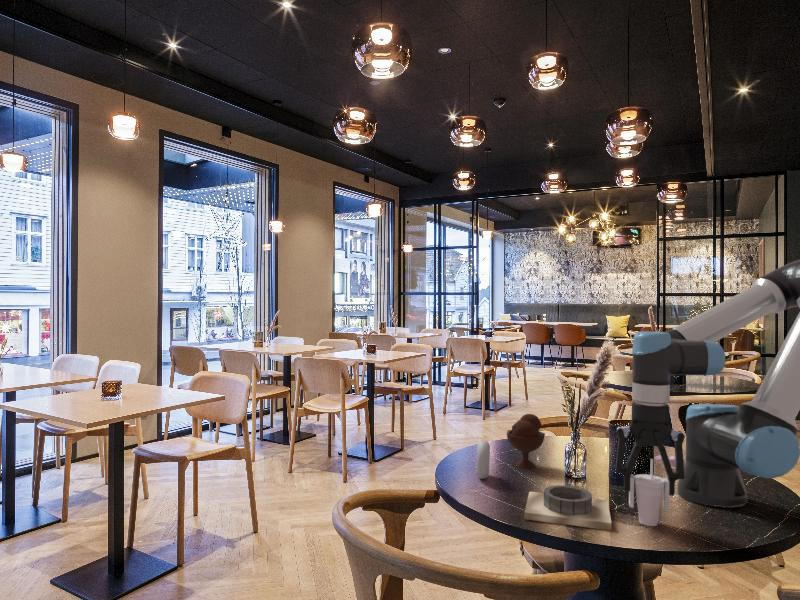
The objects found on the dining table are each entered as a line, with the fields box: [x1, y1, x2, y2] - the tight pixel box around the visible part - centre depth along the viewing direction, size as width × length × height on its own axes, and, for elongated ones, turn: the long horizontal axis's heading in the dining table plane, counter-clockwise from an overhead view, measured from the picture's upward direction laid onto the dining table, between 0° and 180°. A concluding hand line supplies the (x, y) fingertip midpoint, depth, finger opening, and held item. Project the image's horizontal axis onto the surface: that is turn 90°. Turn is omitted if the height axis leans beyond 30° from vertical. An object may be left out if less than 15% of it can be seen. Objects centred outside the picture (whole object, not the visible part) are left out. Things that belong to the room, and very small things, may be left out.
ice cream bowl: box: [506, 413, 546, 470], centre depth 164 cm, size 11×11×15 cm
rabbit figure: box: [653, 454, 686, 469], centre depth 162 cm, size 6×6×15 cm
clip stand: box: [524, 484, 612, 531], centre depth 129 cm, size 18×14×4 cm
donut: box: [475, 440, 491, 480], centre depth 152 cm, size 10×3×10 cm, turn 171°
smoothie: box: [633, 458, 665, 527], centre depth 124 cm, size 6×6×14 cm
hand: (648, 507), depth 124 cm, fingers closed on smoothie, 6 cm apart
